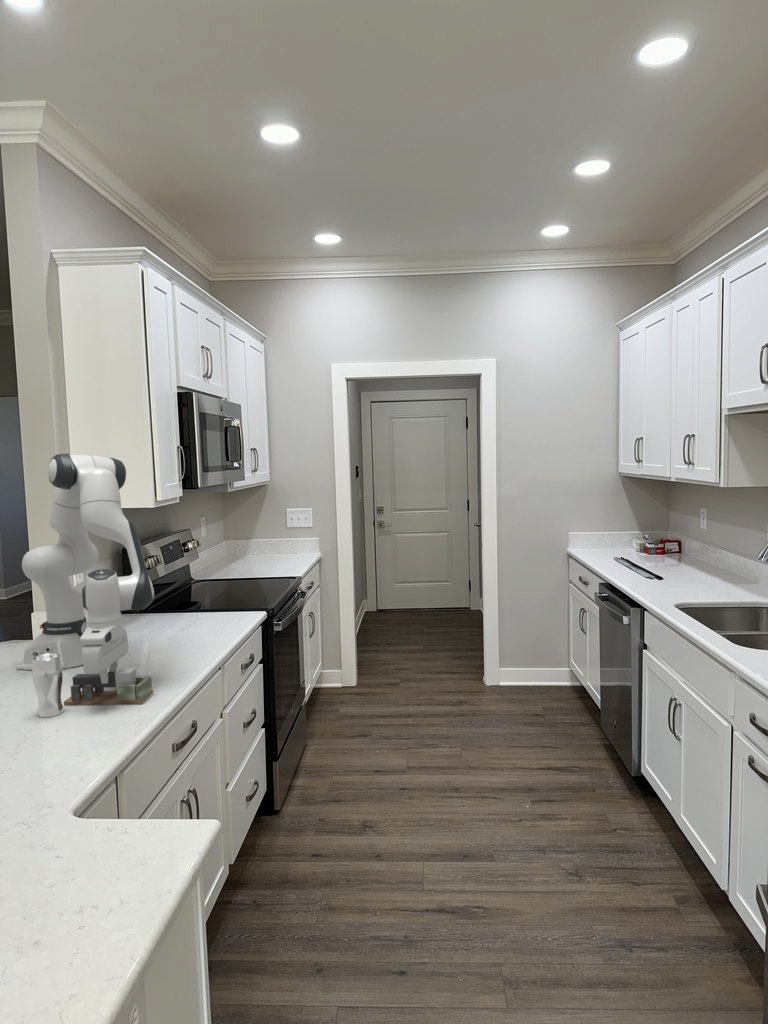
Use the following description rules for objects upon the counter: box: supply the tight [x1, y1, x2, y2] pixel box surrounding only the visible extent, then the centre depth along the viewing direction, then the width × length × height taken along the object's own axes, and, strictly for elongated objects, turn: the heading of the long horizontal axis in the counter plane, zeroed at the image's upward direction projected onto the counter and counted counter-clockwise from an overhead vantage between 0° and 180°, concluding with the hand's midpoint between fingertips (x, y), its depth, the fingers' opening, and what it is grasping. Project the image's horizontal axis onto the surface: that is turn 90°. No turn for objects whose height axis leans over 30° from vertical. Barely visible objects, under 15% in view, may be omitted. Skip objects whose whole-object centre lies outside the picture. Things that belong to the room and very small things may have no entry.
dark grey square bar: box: [72, 667, 137, 689], centre depth 185 cm, size 16×4×4 cm, turn 88°
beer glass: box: [31, 653, 64, 718], centre depth 176 cm, size 7×7×15 cm
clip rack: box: [63, 675, 154, 706], centre depth 185 cm, size 21×8×5 cm, turn 88°
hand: (109, 679), depth 185 cm, fingers closed on dark grey square bar, 3 cm apart
